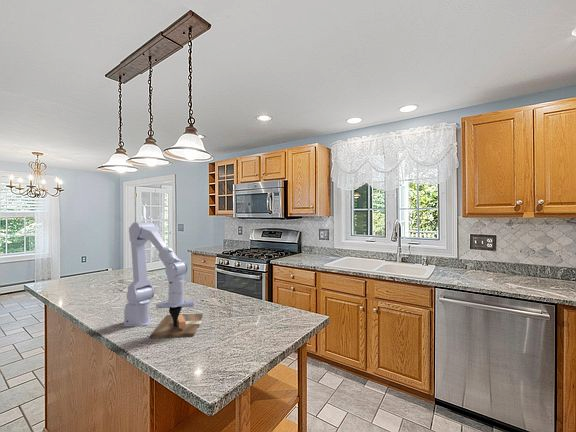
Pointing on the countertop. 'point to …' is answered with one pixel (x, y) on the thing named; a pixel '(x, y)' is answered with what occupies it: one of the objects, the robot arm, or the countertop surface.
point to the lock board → (170, 330)
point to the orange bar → (181, 321)
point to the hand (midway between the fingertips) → (175, 325)
